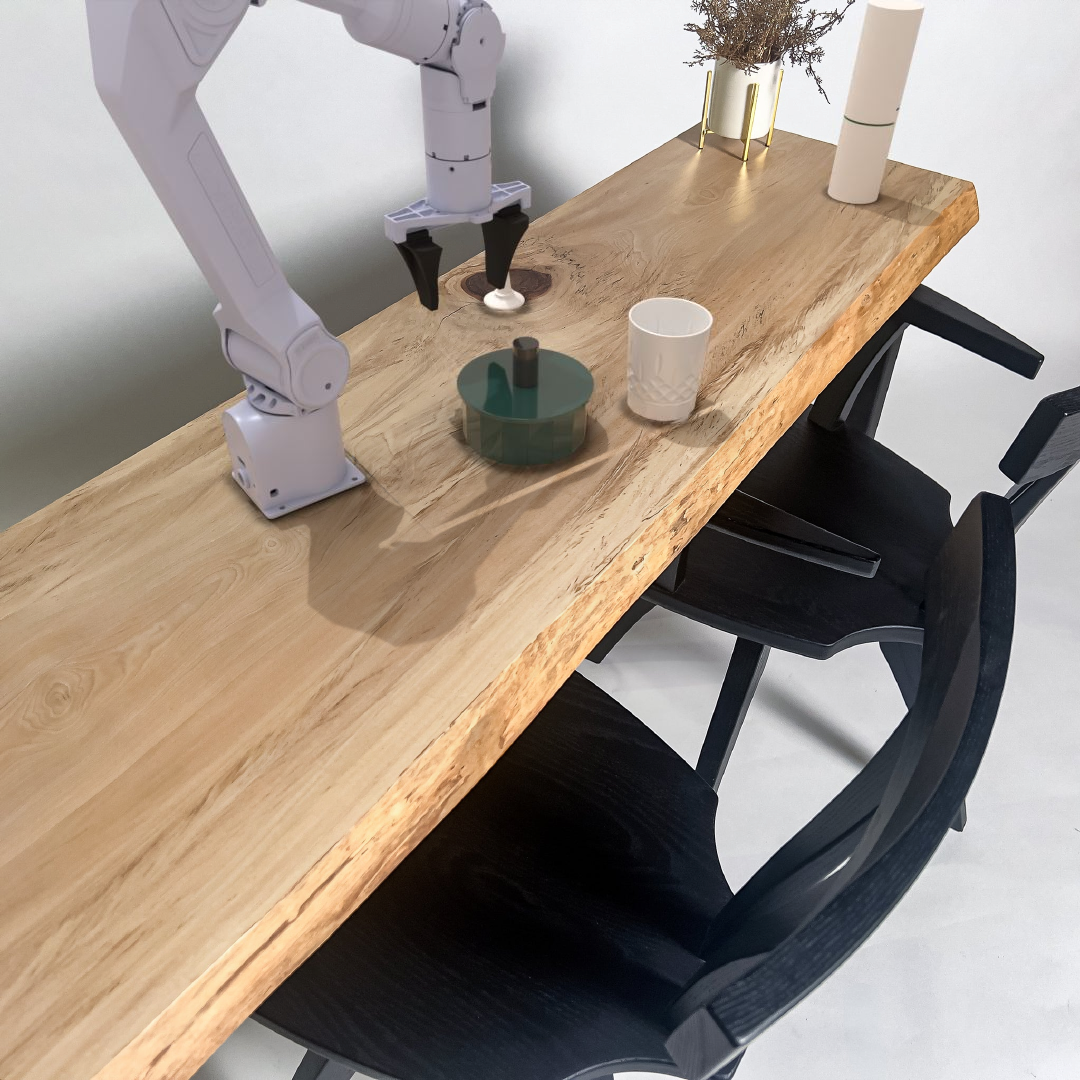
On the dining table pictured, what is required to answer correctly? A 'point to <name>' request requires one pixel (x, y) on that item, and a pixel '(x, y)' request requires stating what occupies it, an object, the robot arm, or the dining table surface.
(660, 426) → the dining table surface
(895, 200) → the dining table surface
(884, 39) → the cylindrical container
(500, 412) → the lid
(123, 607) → the dining table surface
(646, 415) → the white cup
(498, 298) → the chess piece
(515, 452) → the crock
